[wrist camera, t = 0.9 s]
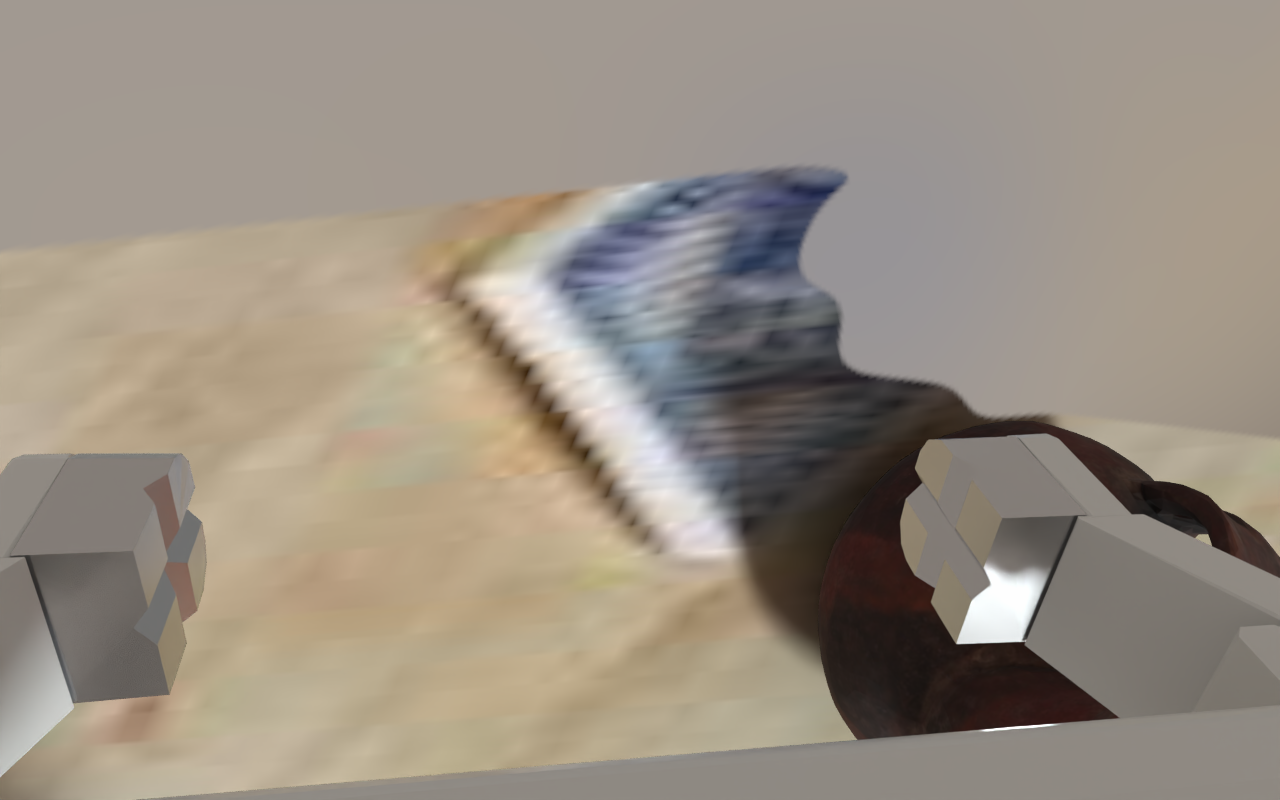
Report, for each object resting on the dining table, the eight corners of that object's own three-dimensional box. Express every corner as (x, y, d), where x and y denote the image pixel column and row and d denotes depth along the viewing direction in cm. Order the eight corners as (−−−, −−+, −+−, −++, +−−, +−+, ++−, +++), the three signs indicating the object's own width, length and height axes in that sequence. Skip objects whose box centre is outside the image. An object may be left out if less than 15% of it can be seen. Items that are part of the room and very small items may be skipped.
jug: (1133, 547, 73) (1502, 706, 49) (917, 789, 71) (1191, 1072, 48) (955, 325, 65) (1296, 389, 41) (705, 593, 63) (912, 820, 40)
